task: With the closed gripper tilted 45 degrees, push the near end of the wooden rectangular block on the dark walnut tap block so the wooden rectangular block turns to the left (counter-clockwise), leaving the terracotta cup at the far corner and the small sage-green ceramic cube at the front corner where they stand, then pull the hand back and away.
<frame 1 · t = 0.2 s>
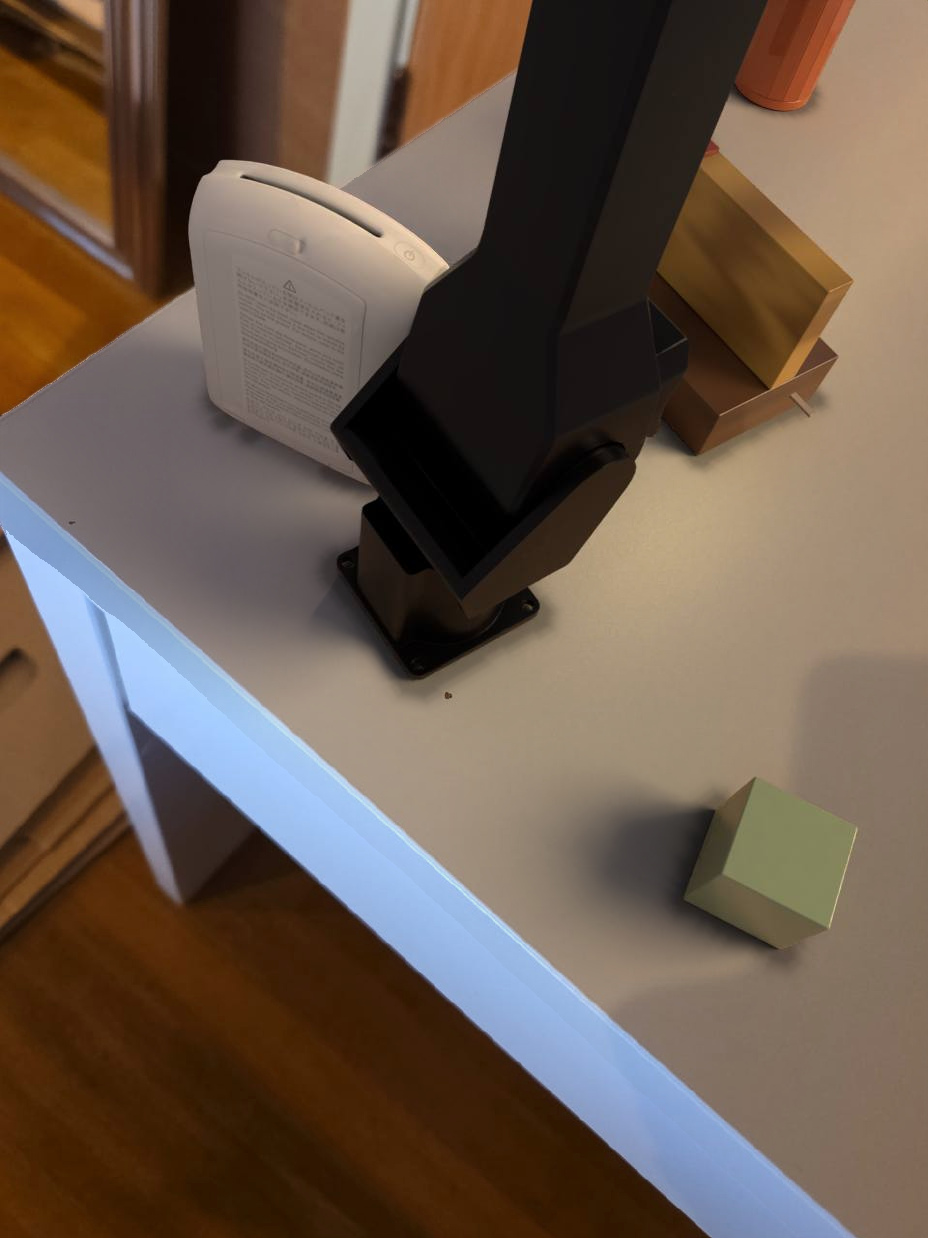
cube: (747, 877, 37), on the table
photo printer: (318, 428, 45), on the table
tap block: (692, 357, 50), on the table
clothes iron: (655, 148, 58), on the table
cup: (771, 85, 62), on the table
wooden rectangular block: (738, 262, 45), point 6 cm above the table, hinge at 0.0°
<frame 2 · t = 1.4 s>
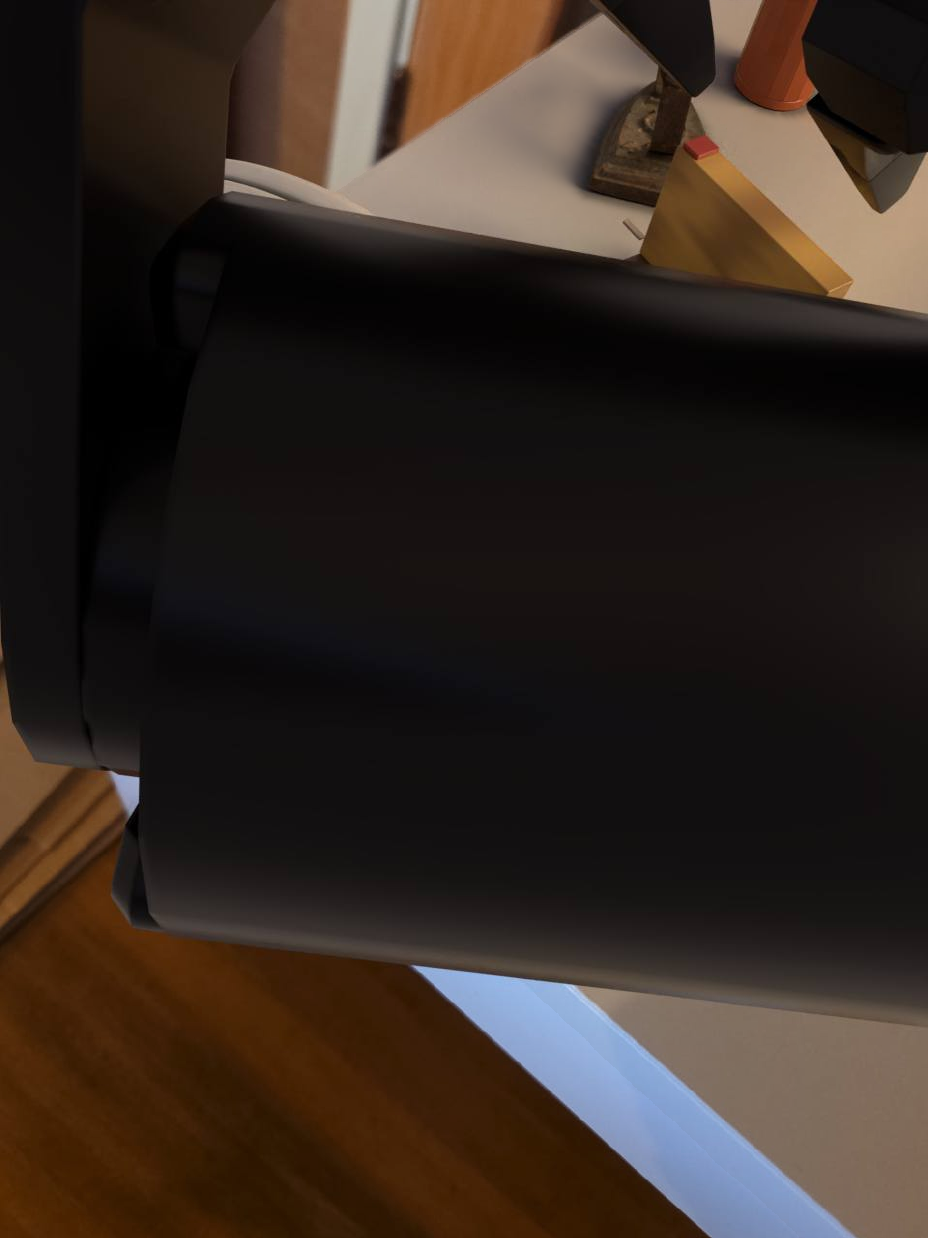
hand: (789, 140, 34), 16 cm above the table, tool tilted 30°, fingers open, 9 cm apart
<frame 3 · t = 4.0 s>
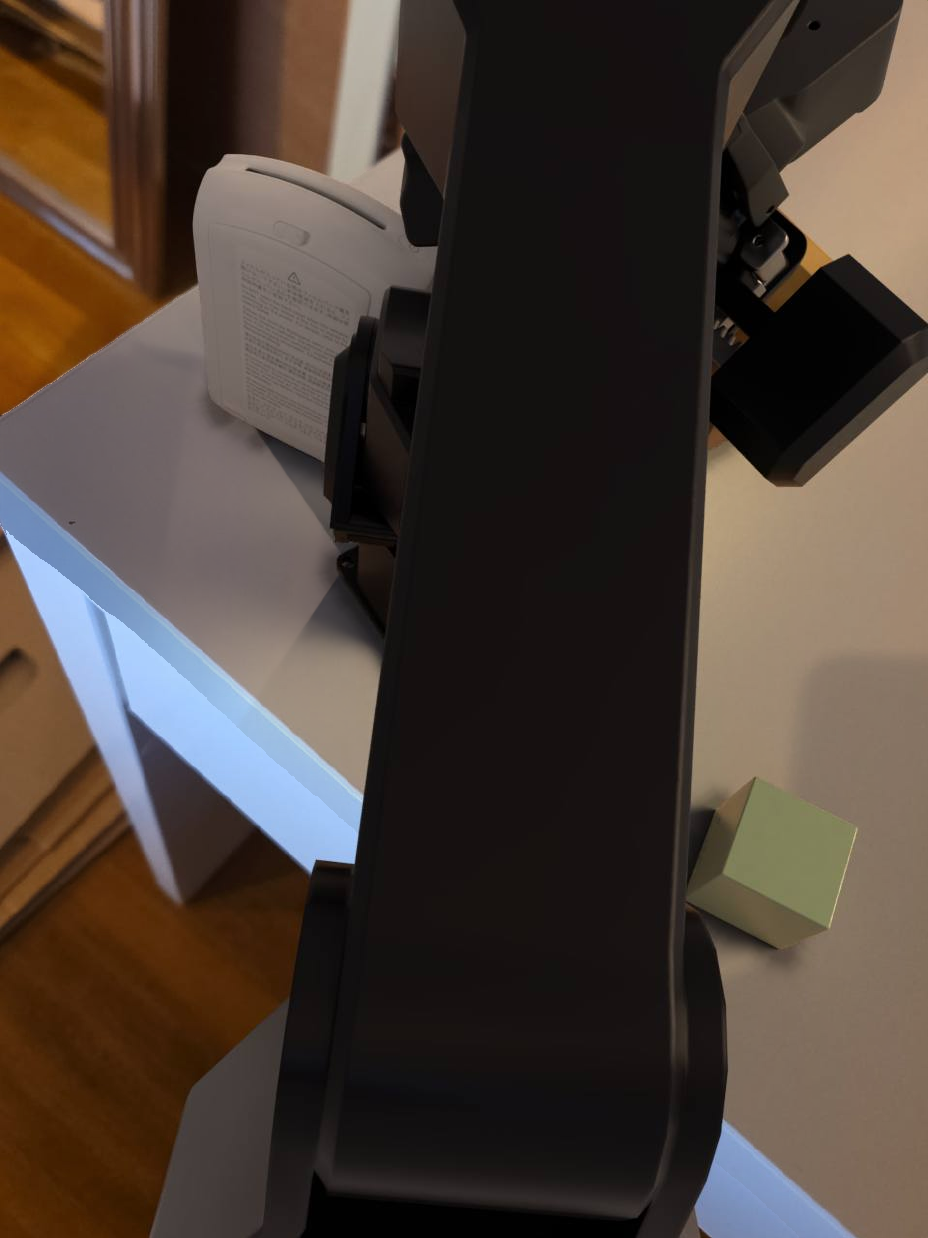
hand: (723, 307, 40), 8 cm above the table, tool tilted 45°, fingers closed
photo printer: (318, 427, 45), on the table, touching arm
everything else where it was.
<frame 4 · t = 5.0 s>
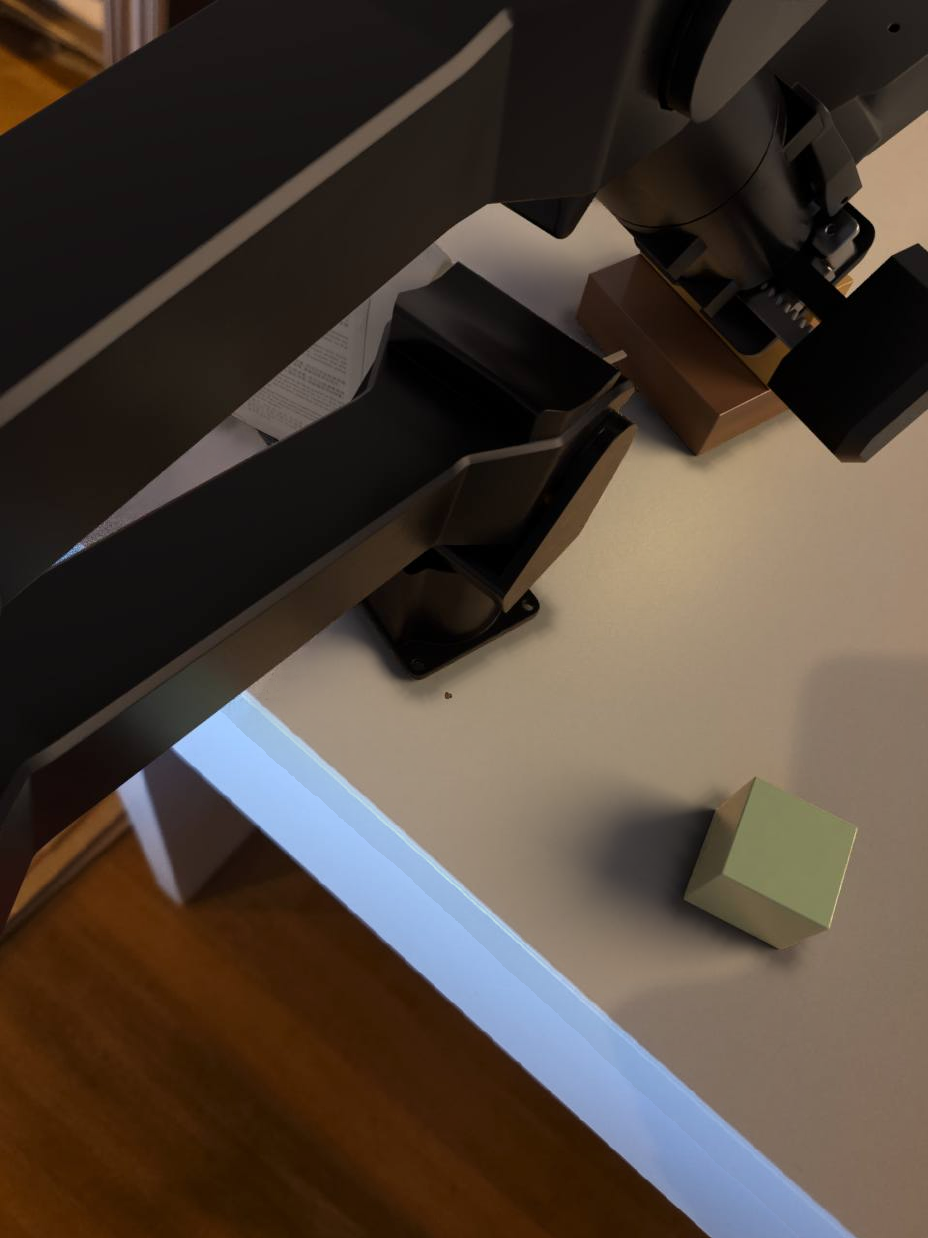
hand: (785, 292, 42), 8 cm above the table, tool tilted 45°, fingers closed, pressing on wooden rectangular block
wooden rectangular block: (738, 262, 45), point 6 cm above the table, hinge at 0.0°, touching gripper
everything else where it was.
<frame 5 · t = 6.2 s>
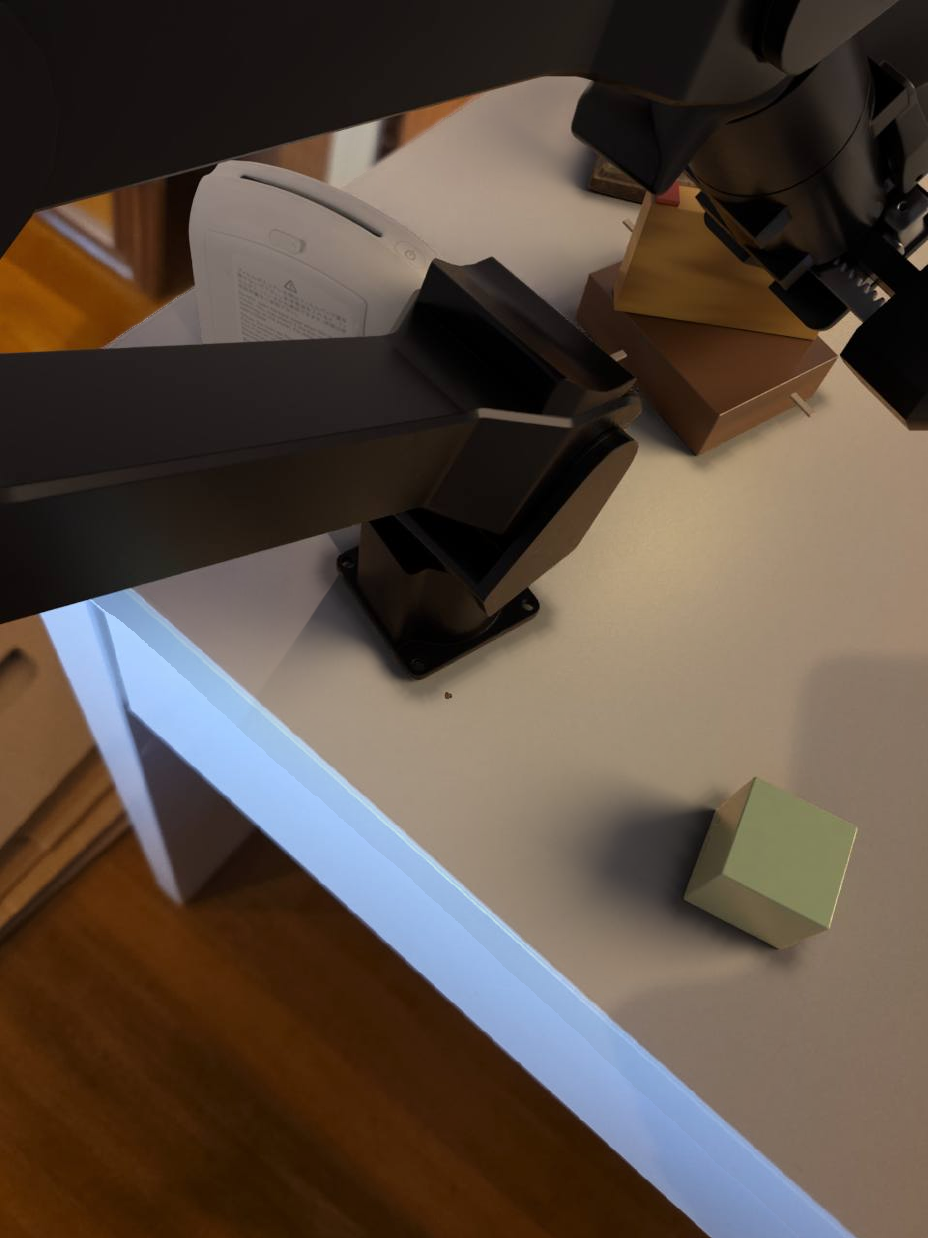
hand: (842, 276, 44), 7 cm above the table, tool tilted 45°, fingers closed
photo printer: (318, 428, 45), on the table
wooden rectangular block: (738, 262, 45), point 6 cm above the table, hinge at 52.4°, touching gripper
everything else where it was.
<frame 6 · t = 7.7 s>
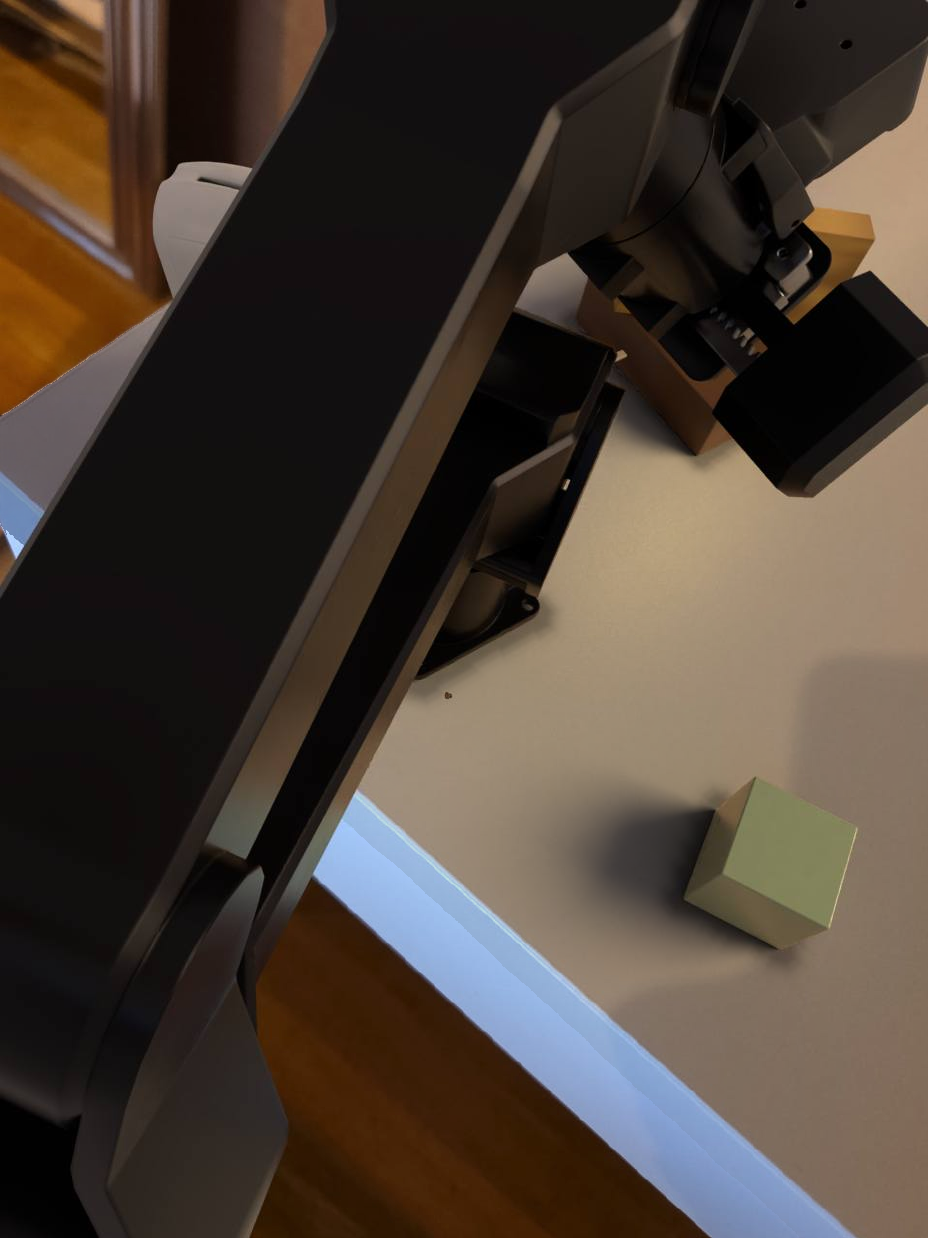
hand: (750, 316, 40), 8 cm above the table, tool tilted 45°, fingers closed
photo printer: (318, 421, 45), on the table, touching arm
wooden rectangular block: (738, 262, 45), point 6 cm above the table, hinge at 53.6°
everything else where it was.
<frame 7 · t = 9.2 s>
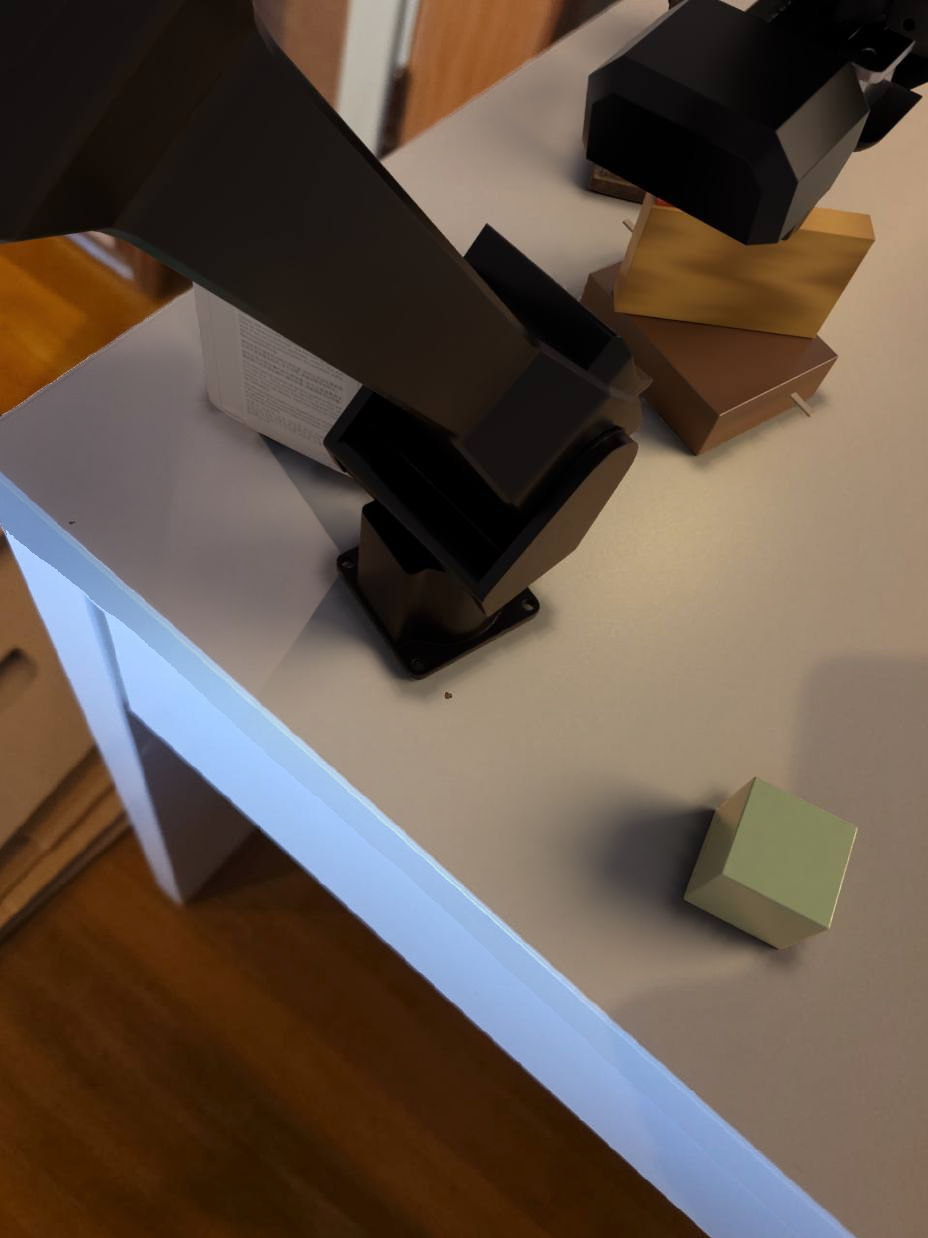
hand: (779, 230, 35), 13 cm above the table, tool pointing down, fingers closed
photo printer: (318, 428, 45), on the table
everything else where it was.
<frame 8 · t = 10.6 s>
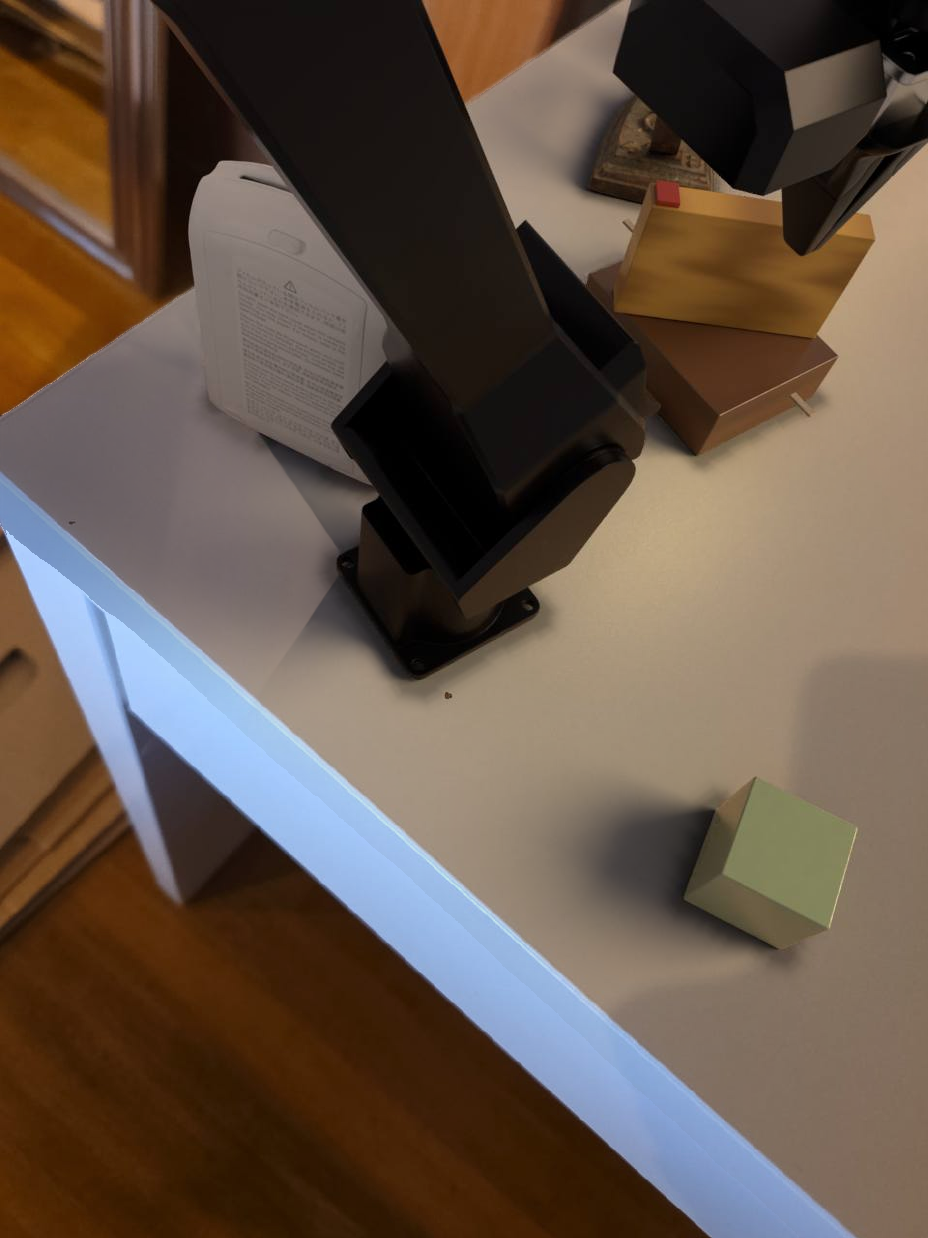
hand: (799, 246, 35), 13 cm above the table, tool pointing down, fingers closed
nothing on the table moved.
at the end: wooden rectangular block at +54° (first picture: +0°); cup moved 0.0 cm from its start; cube moved 0.0 cm from its start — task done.
